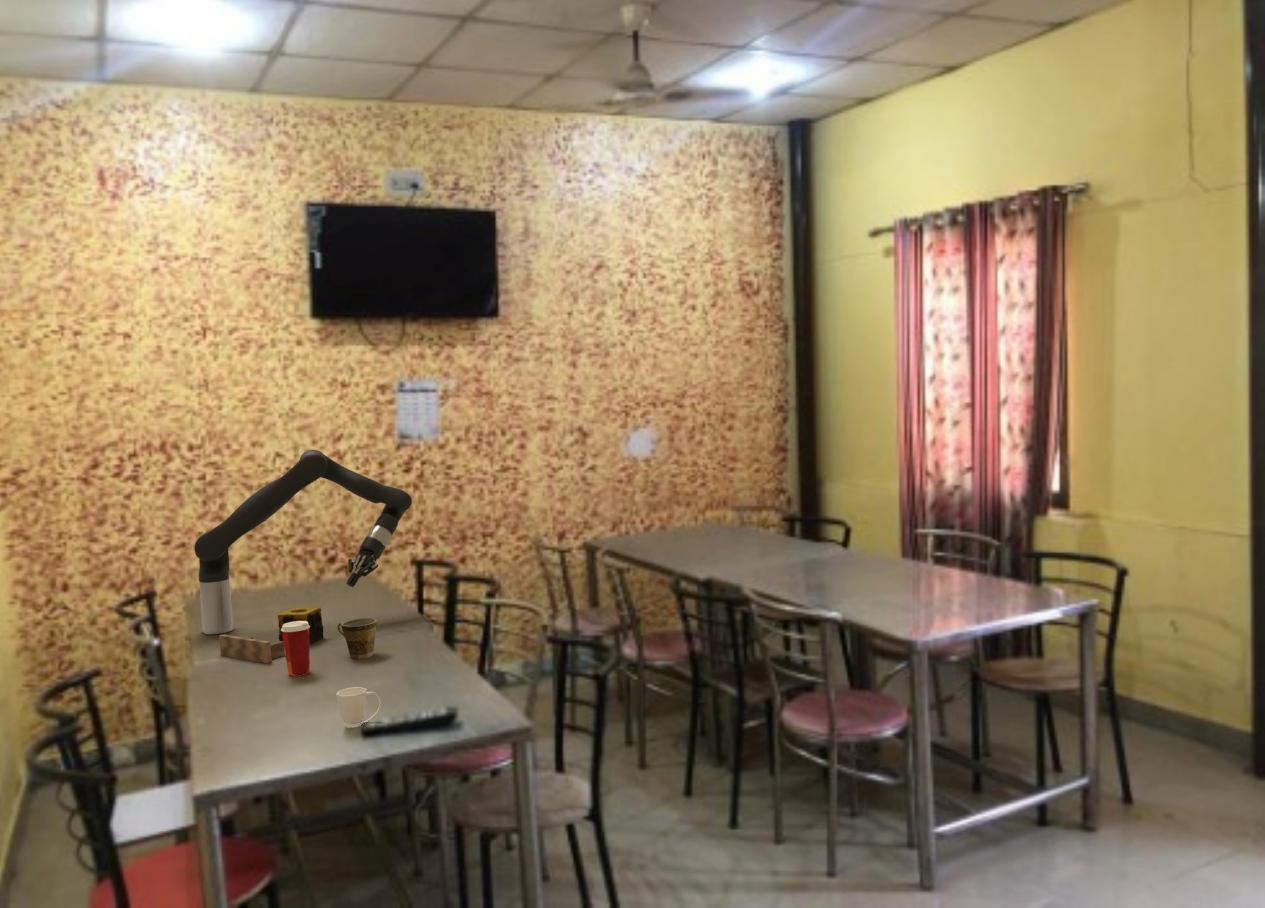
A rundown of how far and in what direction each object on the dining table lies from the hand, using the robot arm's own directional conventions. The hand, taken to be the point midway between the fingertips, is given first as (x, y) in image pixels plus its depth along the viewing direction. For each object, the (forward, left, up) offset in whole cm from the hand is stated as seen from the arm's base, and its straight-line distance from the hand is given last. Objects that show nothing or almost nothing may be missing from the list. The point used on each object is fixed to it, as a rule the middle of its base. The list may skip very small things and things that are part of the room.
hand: (349, 585), depth 339 cm
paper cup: (+29, -45, -14) cm, 55 cm away
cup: (+79, -67, -14) cm, 104 cm away
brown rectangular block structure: (0, -37, -14) cm, 39 cm away
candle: (0, -21, -14) cm, 25 cm away
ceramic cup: (+30, -25, -14) cm, 41 cm away
